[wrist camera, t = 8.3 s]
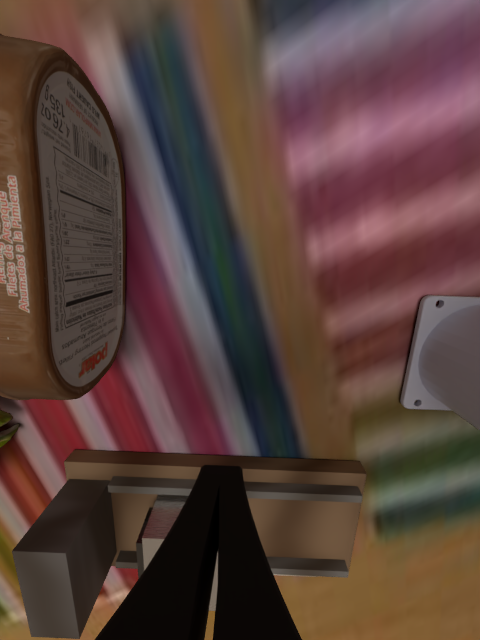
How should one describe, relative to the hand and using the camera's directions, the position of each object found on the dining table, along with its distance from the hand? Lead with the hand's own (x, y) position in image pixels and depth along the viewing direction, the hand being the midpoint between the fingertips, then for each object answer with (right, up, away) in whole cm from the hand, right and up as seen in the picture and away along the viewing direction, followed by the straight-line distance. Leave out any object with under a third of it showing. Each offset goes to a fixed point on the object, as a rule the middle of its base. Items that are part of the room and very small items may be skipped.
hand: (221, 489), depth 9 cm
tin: (-8, +10, +8) cm, 15 cm away
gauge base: (-1, -9, +12) cm, 15 cm away
